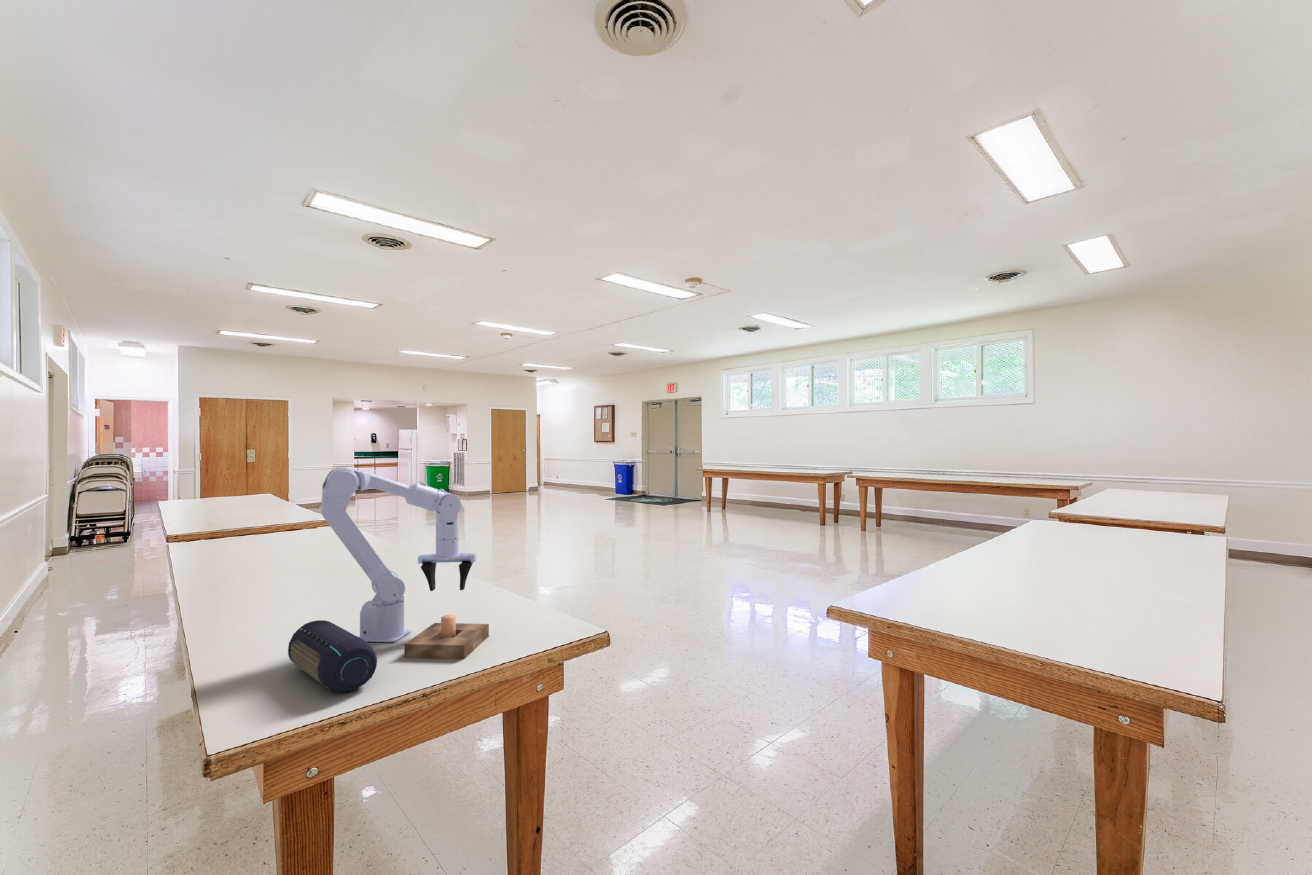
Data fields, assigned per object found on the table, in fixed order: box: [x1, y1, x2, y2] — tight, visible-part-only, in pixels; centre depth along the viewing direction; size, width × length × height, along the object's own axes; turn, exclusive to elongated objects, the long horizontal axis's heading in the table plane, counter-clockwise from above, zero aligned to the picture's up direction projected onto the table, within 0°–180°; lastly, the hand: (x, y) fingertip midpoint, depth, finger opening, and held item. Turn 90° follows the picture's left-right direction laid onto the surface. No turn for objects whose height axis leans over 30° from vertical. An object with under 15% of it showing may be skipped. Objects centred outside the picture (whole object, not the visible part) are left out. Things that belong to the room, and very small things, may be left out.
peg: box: [440, 614, 457, 638], centre depth 127 cm, size 3×3×7 cm
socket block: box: [403, 622, 490, 660], centre depth 127 cm, size 14×14×3 cm
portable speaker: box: [287, 619, 378, 693], centre depth 111 cm, size 25×10×10 cm, turn 51°
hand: (447, 589), depth 142 cm, fingers open, 7 cm apart
